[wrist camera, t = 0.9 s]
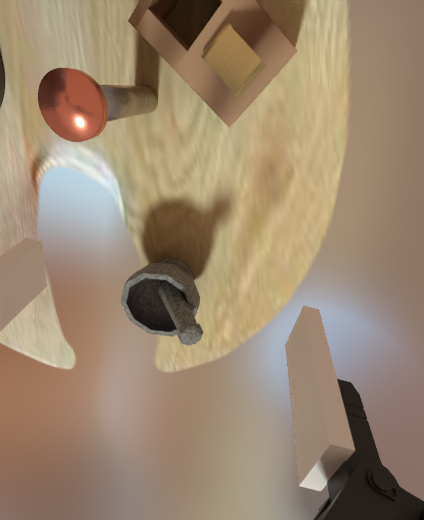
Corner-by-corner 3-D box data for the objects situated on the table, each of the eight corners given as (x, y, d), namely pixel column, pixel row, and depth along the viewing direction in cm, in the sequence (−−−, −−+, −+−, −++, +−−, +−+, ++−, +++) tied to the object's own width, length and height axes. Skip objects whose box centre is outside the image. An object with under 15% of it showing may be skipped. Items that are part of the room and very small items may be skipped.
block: (147, 30, 30) (128, 21, 26) (201, -55, 27) (188, -82, 23) (234, 122, 33) (229, 127, 29) (293, 56, 30) (297, 50, 25)
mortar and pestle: (143, 300, 47) (108, 360, 37) (136, 245, 43) (94, 295, 32) (216, 307, 46) (201, 372, 35) (217, 251, 41) (200, 306, 31)
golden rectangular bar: (205, 59, 27) (199, 54, 26) (231, 25, 25) (225, 18, 25) (237, 99, 25) (232, 94, 24) (267, 64, 24) (262, 58, 23)
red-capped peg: (119, 100, 34) (27, 108, 21) (141, 65, 32) (56, 50, 19) (149, 130, 35) (80, 155, 22) (173, 98, 33) (113, 105, 20)
